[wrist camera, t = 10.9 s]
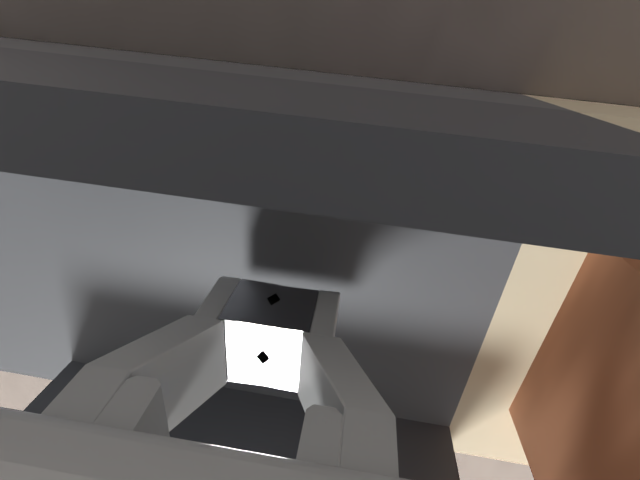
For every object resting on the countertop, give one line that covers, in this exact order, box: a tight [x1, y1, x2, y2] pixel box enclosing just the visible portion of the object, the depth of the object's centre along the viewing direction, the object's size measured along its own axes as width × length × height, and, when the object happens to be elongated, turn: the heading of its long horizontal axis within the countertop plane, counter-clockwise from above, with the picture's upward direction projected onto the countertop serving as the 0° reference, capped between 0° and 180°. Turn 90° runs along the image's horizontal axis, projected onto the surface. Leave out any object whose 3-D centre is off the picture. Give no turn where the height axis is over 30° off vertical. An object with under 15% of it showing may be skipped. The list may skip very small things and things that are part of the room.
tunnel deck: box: [0, 37, 640, 480], centre depth 10 cm, size 11×41×7 cm, turn 84°
